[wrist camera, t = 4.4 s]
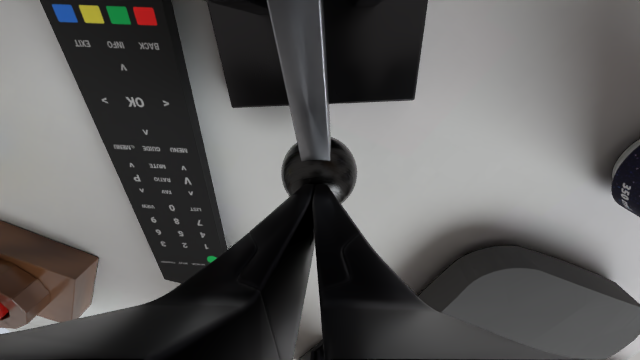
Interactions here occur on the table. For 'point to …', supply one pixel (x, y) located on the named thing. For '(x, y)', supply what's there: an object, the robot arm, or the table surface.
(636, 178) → the beverage can
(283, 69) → the lever
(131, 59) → the remote control
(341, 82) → the bracket
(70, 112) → the table surface
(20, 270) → the button block
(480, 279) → the media streaming box
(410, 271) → the table surface
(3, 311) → the button
